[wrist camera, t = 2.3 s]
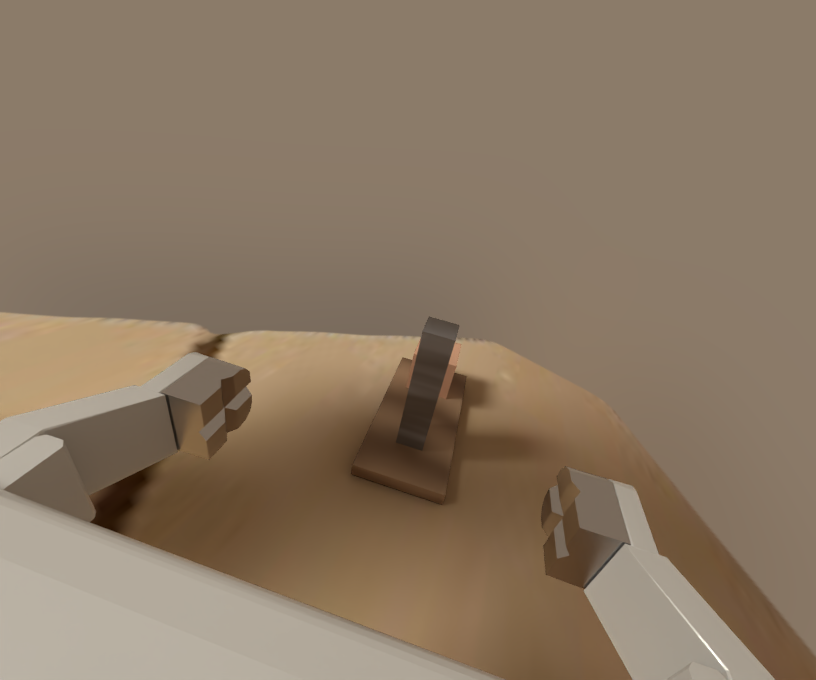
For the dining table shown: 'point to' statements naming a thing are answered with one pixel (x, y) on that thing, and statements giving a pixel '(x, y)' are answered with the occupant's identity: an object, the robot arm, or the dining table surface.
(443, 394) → the terracotta block
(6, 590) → the robot arm
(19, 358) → the dining table surface
